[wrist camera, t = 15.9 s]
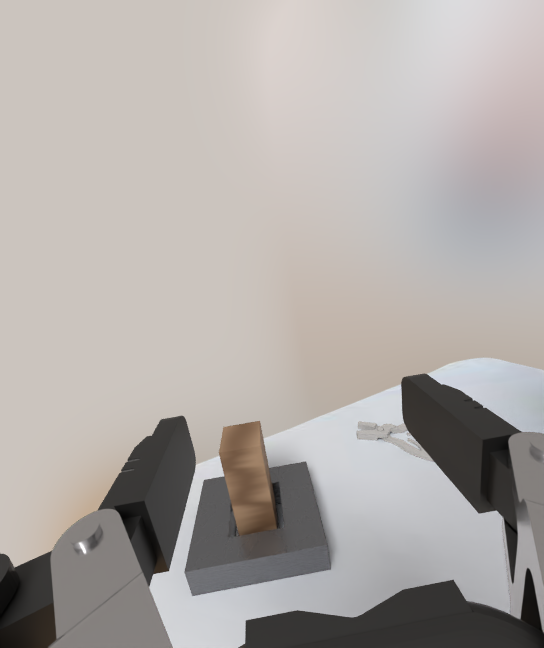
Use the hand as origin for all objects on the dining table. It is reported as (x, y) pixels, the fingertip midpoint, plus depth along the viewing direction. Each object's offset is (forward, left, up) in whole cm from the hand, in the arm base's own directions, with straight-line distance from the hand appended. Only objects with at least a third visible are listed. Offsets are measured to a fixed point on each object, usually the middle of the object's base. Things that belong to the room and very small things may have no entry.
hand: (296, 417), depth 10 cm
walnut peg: (+5, -19, -28) cm, 34 cm away
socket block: (+6, -19, -28) cm, 34 cm away
